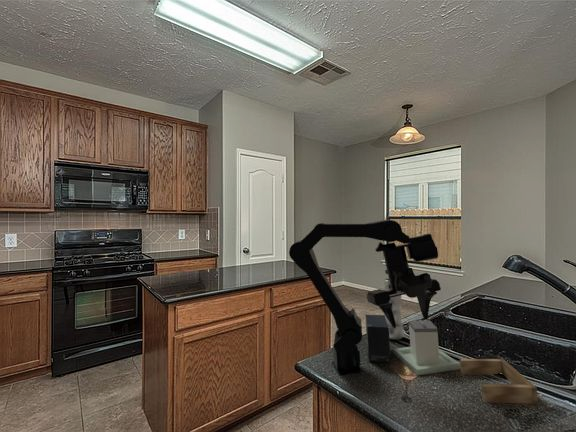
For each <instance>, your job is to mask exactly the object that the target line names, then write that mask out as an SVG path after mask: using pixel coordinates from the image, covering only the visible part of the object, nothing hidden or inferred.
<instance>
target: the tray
mask: <svg viewBox="0 0 576 432" xmlns="http://www.w3.org/2000/svg"><path fill="white" fill-rule="evenodd" d="M392 352H393V355H394V356H395V357H396V358H397V359H398V360H399V361H401V362H402V363H403V364H404V365H405V366H406V367H408V369H410V371H411V372H412V373H414V374H415V375H416V376H423V375H429V374H437V373H441V372H449V371H455V370H461V369H460V362H458V361H457V360H455V358H452V357H451V356H449V355H448V354H446V353H445V352H443V351H442V350H441V349H439V362H440V364H435V365H417V364H416V362H415V361H414V359H413V357H412V355H411V348H410V346H406V347H400V348H399V347H397V348H393V349H392Z"/></svg>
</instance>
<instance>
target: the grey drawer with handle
mask: <svg viewBox="0 0 576 432" xmlns="http://www.w3.org/2000/svg"><path fill="white" fill-rule="evenodd" d="M408 327H409V328H408V330H409V331H408V332H409V347H410V348H411V355H412V357H413V359H414V361H415V362H416V364H417V365H435V364H440V362H439V350H440V349H439V336H438V335H439V332H438V331H439V329H438V328H437V326H436V325H435V324H434V323H433V322H432V321H431V320H422V319H419V320H409V321H408Z"/></svg>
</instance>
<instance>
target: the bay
mask: <svg viewBox="0 0 576 432" xmlns="http://www.w3.org/2000/svg"><path fill="white" fill-rule="evenodd" d="M459 363H460V369H459V370H460V373H461V375H489V376H490V375H491V376H492V375H493V376H494V374H498V373H502V374H503V375H504V376H505V377H506V378H507V379H506V378H505V377H504V376H503V375H502V376H503V377H504V378H505V379H506V380H508V382H509V383H510V384H508V383H507V384H505V383H504V384H502V383H501V384H500V383H499V384H498V383H482V384H481V386H482V387H481V388H482V389H481V391H482V400H483V401H484V403H498V404H502V403H503V404H507V403H508V404H532V405H533V404H536V405H538V404H539V403H538V387H537V386H535V385H534V383H532V382H531V381H530V380H528V379H527V378H526V377H525V376H524V375H522V374H521V373H520V372H519V371H518V370H517V369H515V367H513V366H512V365H511V364H509V362H507V361H506V360H505V359H504V358H492V359H491V358H460V359H459Z"/></svg>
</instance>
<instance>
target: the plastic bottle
mask: <svg viewBox="0 0 576 432" xmlns="http://www.w3.org/2000/svg"><path fill="white" fill-rule="evenodd" d="M388 285H390V281H389V277H388V278H384V288H383V289H382V290H385V291H389V290H391V289H389V286H388ZM397 293H398V292H397ZM389 303H392V312H393V315H394V319H395V323H396V328H394V327H393V326H392V325H391V323H390V322H389V320H388V319H387V317H386V316H385V318H386V321H387V324H388V327H389V340H394V341H396V340H401V339H402V338H403V337H404V335H405V329H404V325H403V321H402V314H401V310H402V309H401V308H402V307H401V304H402V295H400V296H396V297H392V298H390V301H389ZM383 315H385V314H384V313H383Z"/></svg>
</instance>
